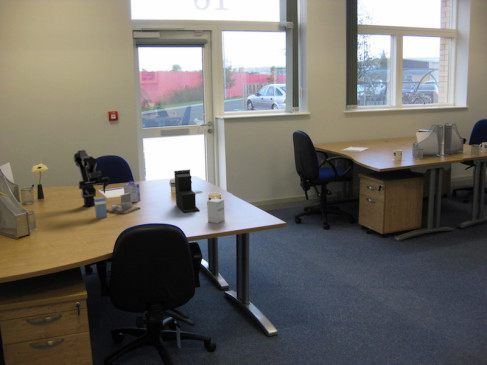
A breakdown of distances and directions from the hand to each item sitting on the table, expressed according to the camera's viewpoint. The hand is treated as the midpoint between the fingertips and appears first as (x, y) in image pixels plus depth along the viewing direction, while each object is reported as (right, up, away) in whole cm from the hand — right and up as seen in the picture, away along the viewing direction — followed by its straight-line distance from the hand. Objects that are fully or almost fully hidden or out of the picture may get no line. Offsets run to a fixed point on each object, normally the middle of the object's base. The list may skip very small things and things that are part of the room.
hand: (97, 194), depth 293 cm
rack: (+13, -11, +11) cm, 20 cm away
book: (+4, -14, -4) cm, 15 cm away
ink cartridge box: (+14, -6, +34) cm, 37 cm away
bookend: (+56, -10, +11) cm, 58 cm away
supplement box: (+76, -15, -20) cm, 81 cm away
